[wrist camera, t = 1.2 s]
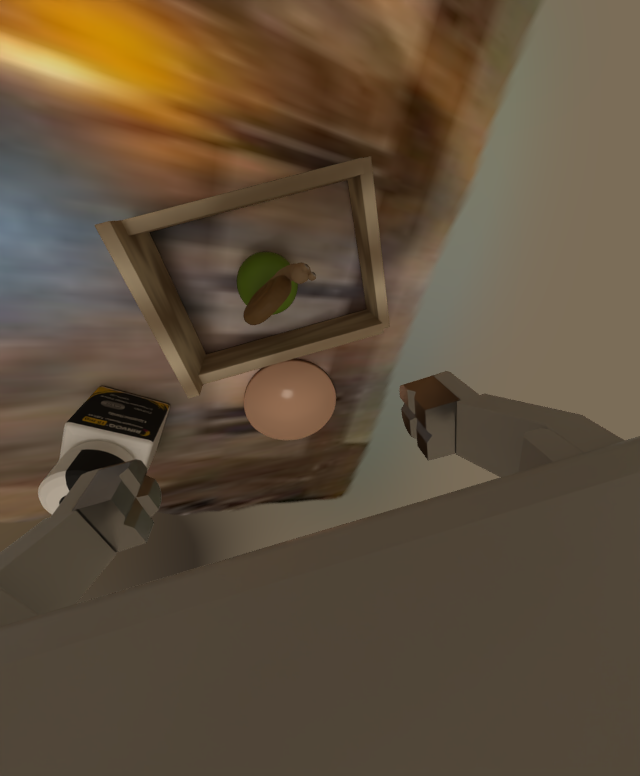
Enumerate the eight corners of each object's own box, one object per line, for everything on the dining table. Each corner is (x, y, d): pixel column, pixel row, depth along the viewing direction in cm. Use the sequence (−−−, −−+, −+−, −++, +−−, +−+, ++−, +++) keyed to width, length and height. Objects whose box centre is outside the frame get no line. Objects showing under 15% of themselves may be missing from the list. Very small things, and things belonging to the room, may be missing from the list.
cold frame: (131, 222, 26) (94, 225, 20) (356, 163, 27) (384, 149, 21) (201, 365, 33) (188, 398, 27) (376, 315, 34) (401, 337, 28)
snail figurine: (312, 271, 31) (340, 300, 20) (269, 317, 32) (274, 365, 22) (271, 227, 28) (280, 234, 18) (226, 279, 30) (210, 313, 19)
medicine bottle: (171, 403, 35) (135, 482, 25) (156, 450, 38) (118, 538, 27) (99, 384, 32) (26, 463, 22) (89, 435, 35) (20, 527, 25)
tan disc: (230, 374, 34) (229, 377, 34) (324, 347, 35) (325, 350, 34) (261, 446, 40) (261, 450, 39) (341, 422, 40) (343, 425, 40)
